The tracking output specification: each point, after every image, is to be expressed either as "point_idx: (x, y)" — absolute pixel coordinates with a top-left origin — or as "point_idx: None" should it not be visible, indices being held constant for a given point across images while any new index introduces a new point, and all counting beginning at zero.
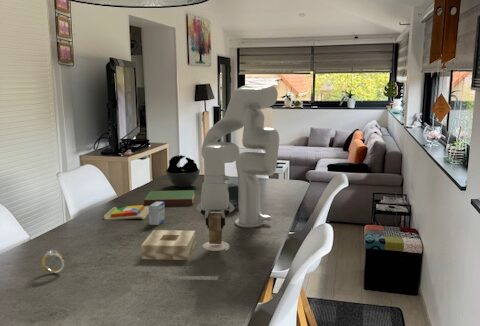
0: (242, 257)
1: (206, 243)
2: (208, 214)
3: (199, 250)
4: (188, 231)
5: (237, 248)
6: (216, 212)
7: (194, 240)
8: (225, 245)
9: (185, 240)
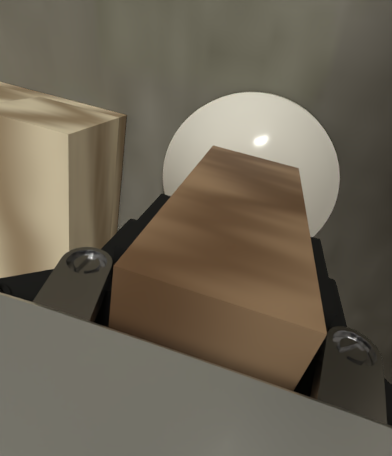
0: (359, 331)
1: (188, 134)
2: (104, 302)
3: (152, 192)
4: (21, 143)
5: (384, 215)
6: (218, 337)
7: (101, 161)
8: (308, 199)
9: None
